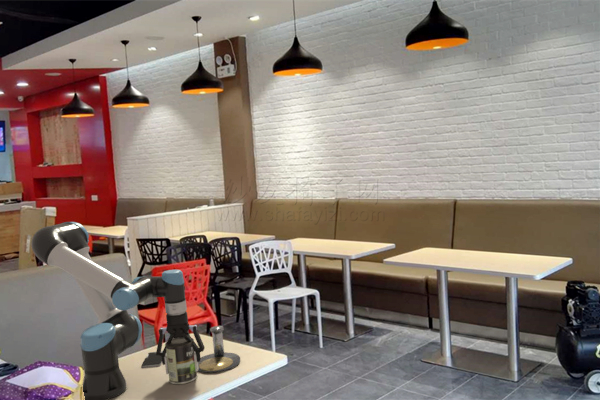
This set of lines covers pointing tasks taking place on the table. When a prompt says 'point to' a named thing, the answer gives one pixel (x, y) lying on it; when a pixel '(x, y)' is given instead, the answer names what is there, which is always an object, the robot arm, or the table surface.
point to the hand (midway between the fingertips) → (182, 371)
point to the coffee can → (180, 361)
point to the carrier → (218, 355)
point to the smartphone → (152, 360)
